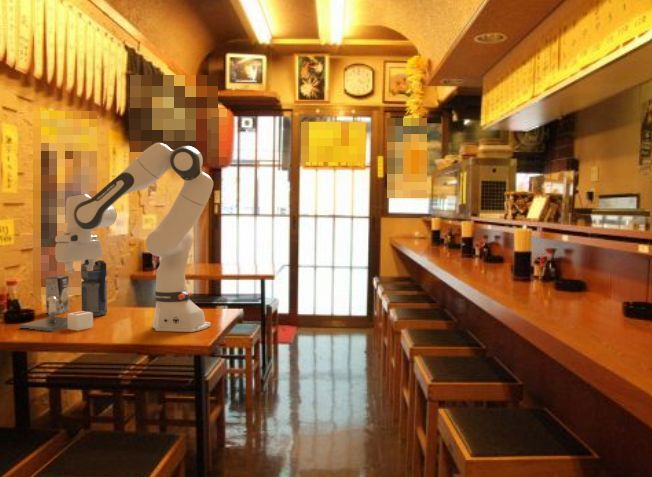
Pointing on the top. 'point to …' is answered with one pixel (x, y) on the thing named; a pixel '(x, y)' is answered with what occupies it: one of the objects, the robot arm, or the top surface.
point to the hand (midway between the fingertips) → (80, 272)
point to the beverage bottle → (94, 288)
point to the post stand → (48, 320)
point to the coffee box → (58, 293)
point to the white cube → (80, 320)
